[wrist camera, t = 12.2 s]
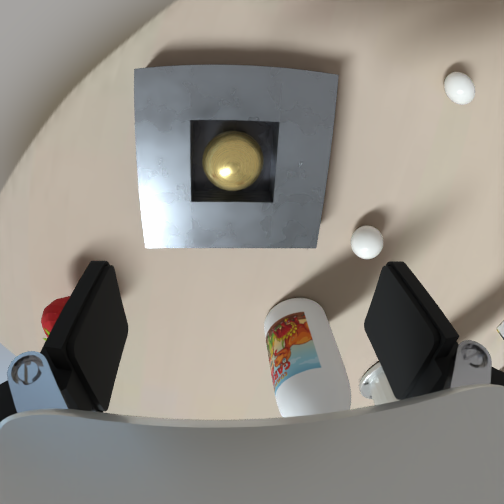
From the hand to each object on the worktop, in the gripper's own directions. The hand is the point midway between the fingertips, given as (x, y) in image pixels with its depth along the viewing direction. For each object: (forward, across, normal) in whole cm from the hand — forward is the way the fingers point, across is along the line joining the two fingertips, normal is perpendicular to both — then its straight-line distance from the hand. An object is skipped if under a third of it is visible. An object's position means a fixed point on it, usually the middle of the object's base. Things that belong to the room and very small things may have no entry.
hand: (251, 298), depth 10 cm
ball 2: (+18, -22, -10) cm, 30 cm away
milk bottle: (+20, -8, +20) cm, 29 cm away
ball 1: (+18, -14, +8) cm, 24 cm away
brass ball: (+17, 0, 0) cm, 17 cm away
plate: (+20, 0, 0) cm, 20 cm away
